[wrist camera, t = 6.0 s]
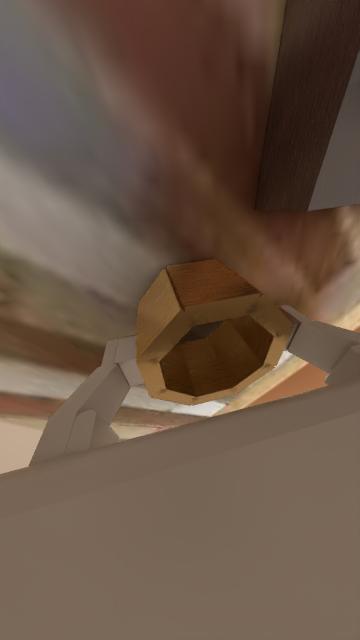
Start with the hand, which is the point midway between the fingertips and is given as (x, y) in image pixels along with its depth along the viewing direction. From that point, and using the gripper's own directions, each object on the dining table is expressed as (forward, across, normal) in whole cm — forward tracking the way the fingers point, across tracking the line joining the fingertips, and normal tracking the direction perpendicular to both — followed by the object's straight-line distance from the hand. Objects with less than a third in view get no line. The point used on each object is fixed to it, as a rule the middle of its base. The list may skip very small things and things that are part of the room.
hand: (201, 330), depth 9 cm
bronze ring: (+2, 0, 0) cm, 2 cm away
